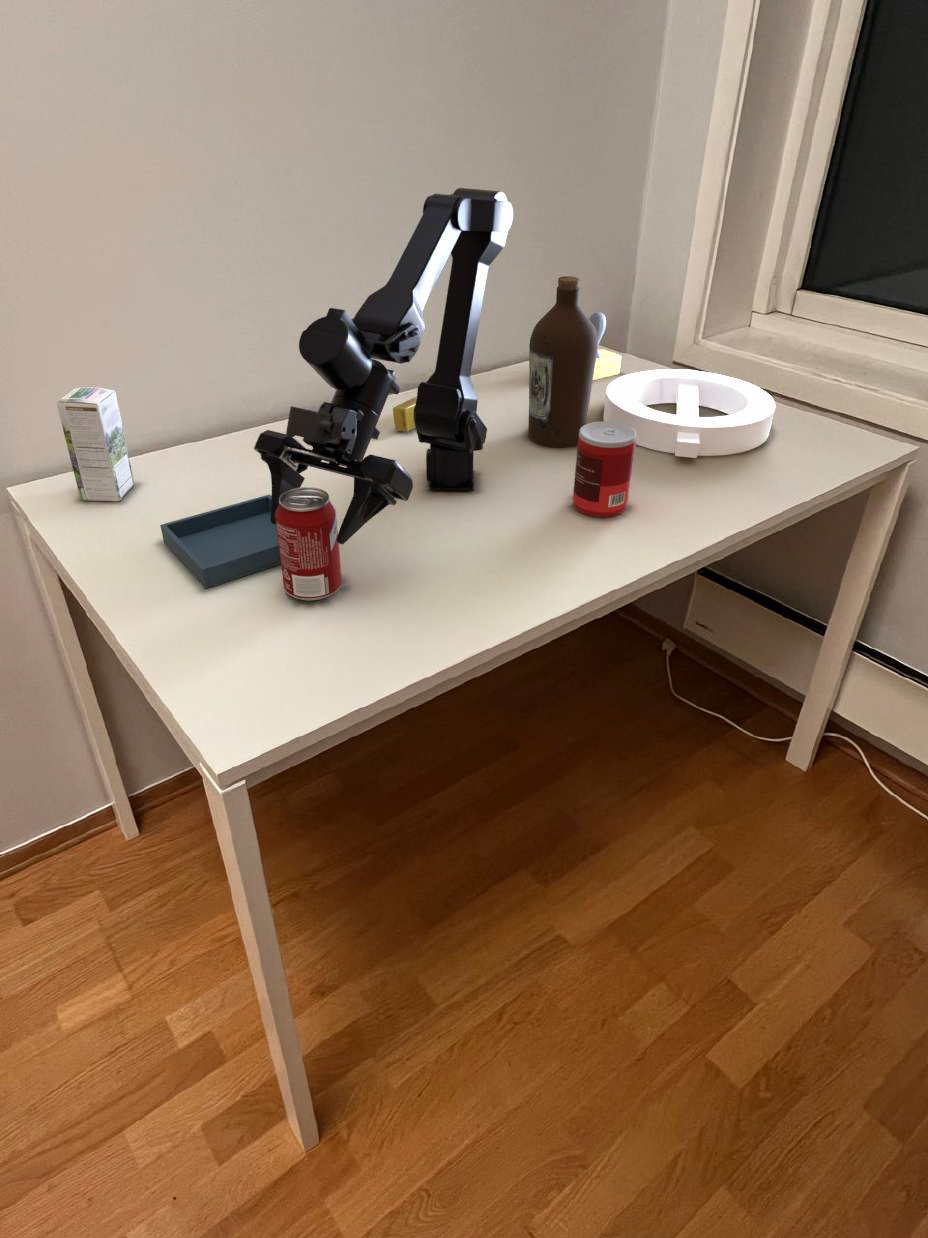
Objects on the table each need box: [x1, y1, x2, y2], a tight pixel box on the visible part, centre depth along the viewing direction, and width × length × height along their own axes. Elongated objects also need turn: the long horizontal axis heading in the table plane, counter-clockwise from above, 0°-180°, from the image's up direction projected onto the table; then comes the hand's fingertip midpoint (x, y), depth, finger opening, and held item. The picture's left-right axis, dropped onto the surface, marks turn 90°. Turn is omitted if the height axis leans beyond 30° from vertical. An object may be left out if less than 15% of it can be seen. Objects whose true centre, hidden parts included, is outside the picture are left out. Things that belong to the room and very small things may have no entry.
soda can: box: [275, 486, 343, 602], centre depth 96 cm, size 7×7×12 cm
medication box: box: [392, 395, 417, 432], centre depth 143 cm, size 12×3×4 cm, turn 149°
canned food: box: [572, 420, 637, 518], centre depth 116 cm, size 8×8×11 cm
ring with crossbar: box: [602, 368, 776, 459], centre depth 144 cm, size 28×28×5 cm
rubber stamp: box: [588, 311, 622, 381], centre depth 162 cm, size 10×6×12 cm, turn 126°
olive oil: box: [527, 275, 599, 448], centre depth 132 cm, size 11×11×25 cm
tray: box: [159, 494, 281, 590], centre depth 107 cm, size 15×14×3 cm
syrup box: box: [56, 386, 135, 502], centre depth 116 cm, size 6×6×14 cm
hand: (306, 533), depth 95 cm, fingers open, 9 cm apart
